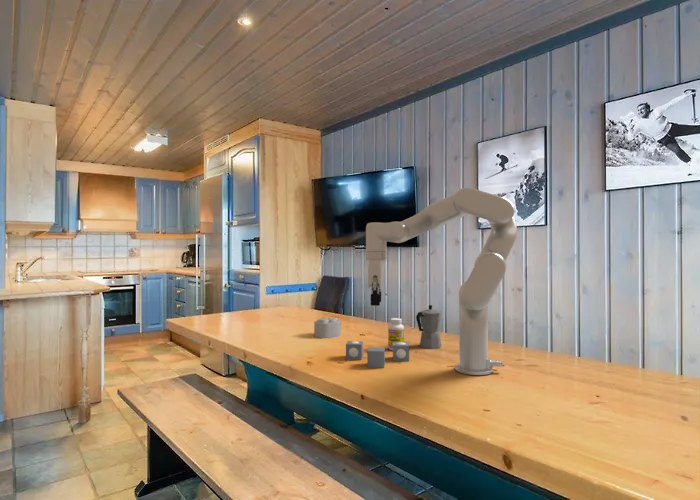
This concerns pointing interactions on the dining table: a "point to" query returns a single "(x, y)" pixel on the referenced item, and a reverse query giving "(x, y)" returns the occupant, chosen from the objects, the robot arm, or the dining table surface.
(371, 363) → the plain block
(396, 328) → the supplement bottle
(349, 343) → the badge block
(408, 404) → the dining table surface
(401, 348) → the badge block
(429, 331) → the coffeepot
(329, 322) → the lumpy-topped squat cylinder
